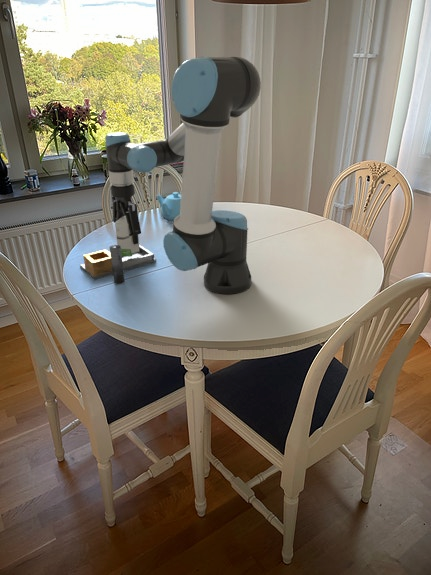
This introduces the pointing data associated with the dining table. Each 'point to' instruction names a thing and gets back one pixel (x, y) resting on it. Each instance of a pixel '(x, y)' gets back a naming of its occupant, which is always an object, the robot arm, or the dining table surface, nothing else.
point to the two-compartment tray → (101, 263)
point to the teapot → (170, 205)
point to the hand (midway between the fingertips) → (128, 247)
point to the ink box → (123, 236)
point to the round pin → (117, 264)
